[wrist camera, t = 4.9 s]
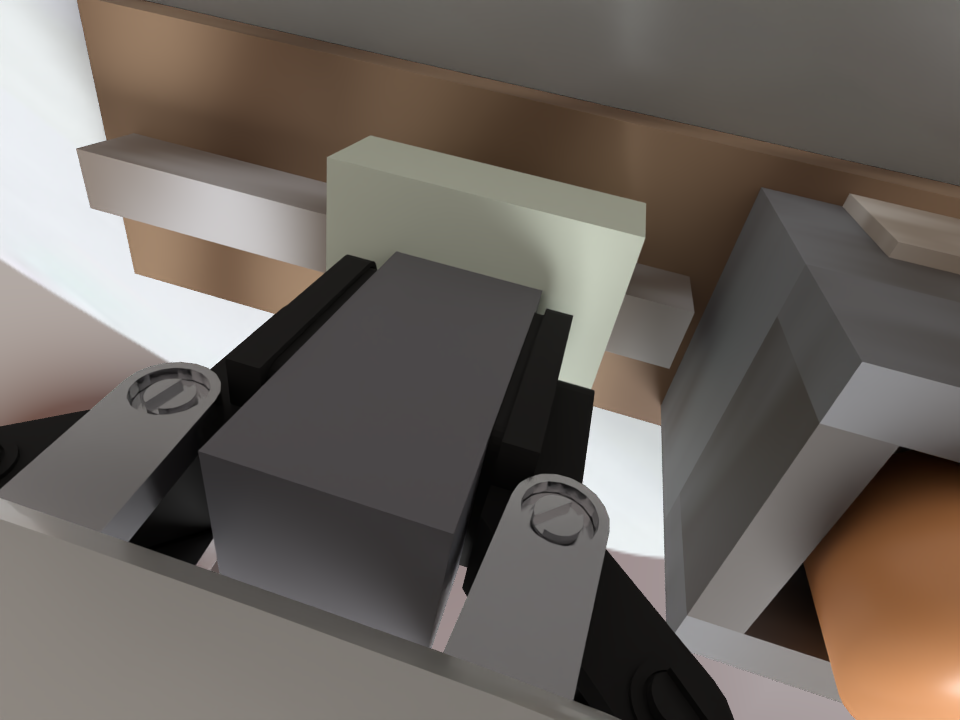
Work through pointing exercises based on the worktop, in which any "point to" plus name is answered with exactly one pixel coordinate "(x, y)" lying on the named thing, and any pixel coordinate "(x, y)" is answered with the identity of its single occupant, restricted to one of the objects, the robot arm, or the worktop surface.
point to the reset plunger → (895, 592)
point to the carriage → (409, 378)
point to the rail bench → (434, 117)
